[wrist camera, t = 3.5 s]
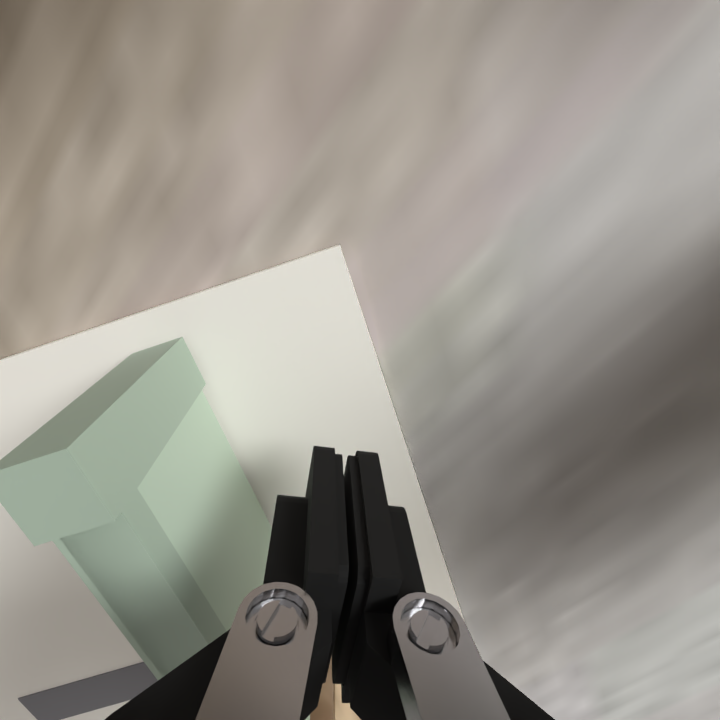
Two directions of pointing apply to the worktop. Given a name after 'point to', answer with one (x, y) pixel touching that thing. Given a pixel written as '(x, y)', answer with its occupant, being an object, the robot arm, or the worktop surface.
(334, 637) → the robot arm
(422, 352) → the worktop surface
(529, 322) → the worktop surface
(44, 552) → the card
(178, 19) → the worktop surface
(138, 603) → the mint green long bar
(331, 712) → the fixed fence section
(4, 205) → the worktop surface
